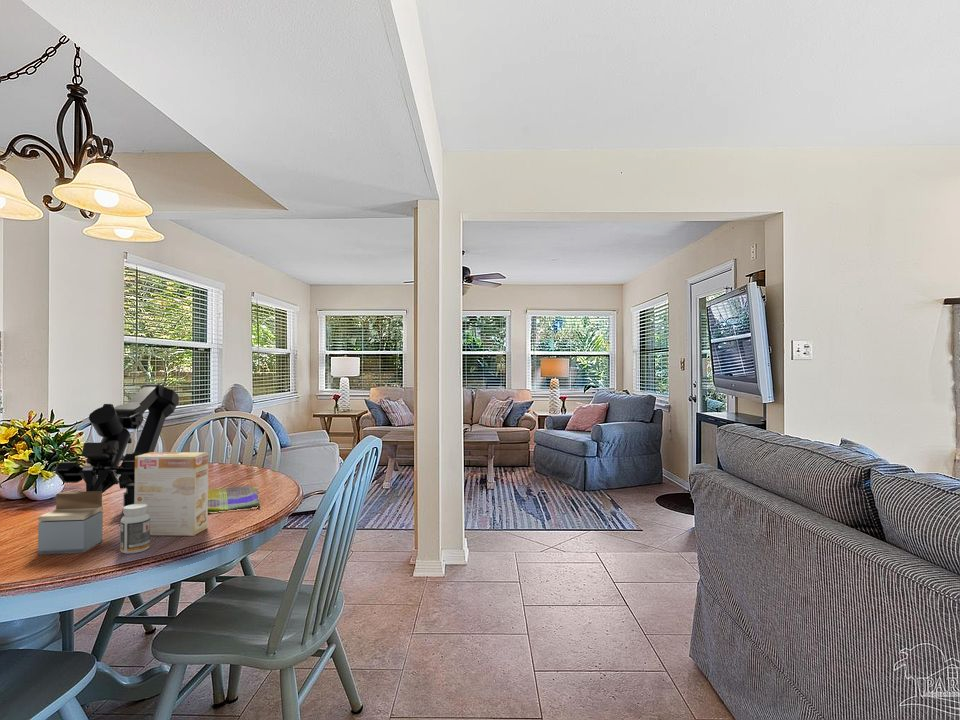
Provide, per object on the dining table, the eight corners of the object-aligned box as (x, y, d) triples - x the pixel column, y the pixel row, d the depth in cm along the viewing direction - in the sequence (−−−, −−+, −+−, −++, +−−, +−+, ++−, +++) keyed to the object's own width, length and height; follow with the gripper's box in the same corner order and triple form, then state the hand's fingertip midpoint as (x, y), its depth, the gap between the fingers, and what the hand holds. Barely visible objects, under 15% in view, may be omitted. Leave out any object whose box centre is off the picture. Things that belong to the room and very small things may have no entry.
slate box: (59, 542, 127) (60, 512, 127) (102, 540, 128) (102, 511, 128) (37, 554, 119) (38, 522, 119) (83, 552, 120) (84, 520, 120)
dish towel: (192, 517, 150) (192, 507, 150) (199, 497, 172) (199, 488, 172) (260, 511, 157) (260, 501, 157) (258, 492, 179) (258, 484, 179)
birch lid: (60, 511, 127) (60, 492, 127) (102, 510, 128) (103, 490, 128) (38, 521, 119) (38, 500, 119) (83, 519, 120) (84, 499, 120)
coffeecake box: (208, 527, 139) (209, 451, 139) (193, 536, 132) (195, 456, 132) (150, 527, 139) (151, 451, 139) (132, 536, 132) (133, 455, 132)
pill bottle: (155, 545, 125) (155, 502, 125) (140, 554, 119) (141, 509, 120) (129, 545, 125) (130, 502, 125) (113, 554, 119) (114, 509, 119)
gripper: (59, 429, 134) (29, 484, 123) (141, 428, 137) (119, 482, 126) (77, 455, 142) (50, 509, 131) (154, 454, 145) (135, 507, 134)
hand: (88, 501), depth 130 cm, fingers closed
